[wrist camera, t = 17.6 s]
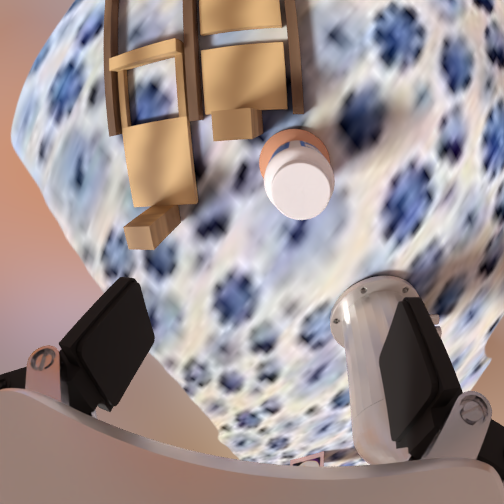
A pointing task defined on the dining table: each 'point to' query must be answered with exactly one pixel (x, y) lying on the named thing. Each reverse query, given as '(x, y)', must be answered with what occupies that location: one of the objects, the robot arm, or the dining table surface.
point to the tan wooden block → (243, 87)
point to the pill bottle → (299, 180)
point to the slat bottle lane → (156, 151)
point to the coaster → (286, 137)
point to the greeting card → (310, 460)
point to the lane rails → (211, 22)
